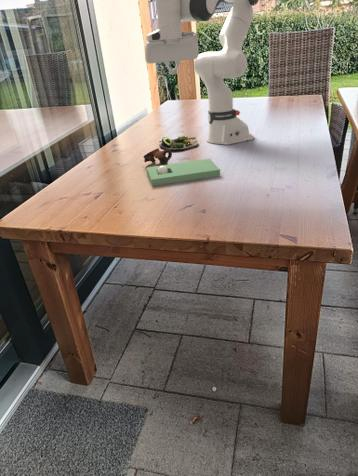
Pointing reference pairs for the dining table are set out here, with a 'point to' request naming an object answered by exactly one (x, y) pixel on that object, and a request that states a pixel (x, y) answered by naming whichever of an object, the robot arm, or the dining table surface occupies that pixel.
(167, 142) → the salad plate
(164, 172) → the ball
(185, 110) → the dining table surface
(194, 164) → the green board
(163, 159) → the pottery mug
